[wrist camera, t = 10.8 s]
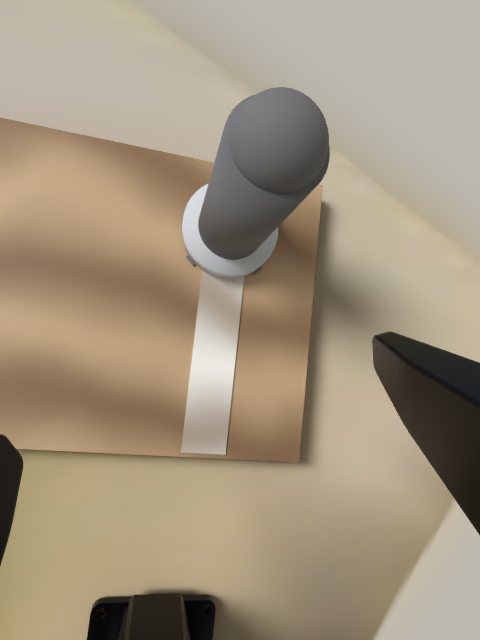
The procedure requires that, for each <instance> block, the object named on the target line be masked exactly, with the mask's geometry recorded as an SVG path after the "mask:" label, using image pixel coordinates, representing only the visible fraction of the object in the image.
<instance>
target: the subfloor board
mask: <svg viewBox="0 0 480 640" xmlns="http://www.w3.org/2000/svg"><path fill="white" fill-rule="evenodd" d="M213 166H214V163H213V162H209V161H204V160H199V159H194V158H190V157H185V156H180V155H175V154H170V153H166V152H161V151H156V150H151V149H147V148H142V147H137V146H132V145H128V144H123V143H118V142H113V141H109V140H104V139H99V138H94V137H89V136H85V135H80V134H75V133H70V132H66V131H61V130H56V129H51V128H47V127H42V126H37V125H32V124H28V123H23V122H18V121H13V120H8V119H4V118H0V434H3V435H5V436H6V437H7V438H8V439H9V440H10V442H11V443H12V444H13V446H14V447H15V448H16V449H31V450H51V451H72V452H92V453H113V454H134V455H154V456H175V457H195V458H216V459H236V460H257V461H277V462H298V463H299V458H300V446H301V434H302V422H303V411H304V399H305V387H306V375H307V364H308V352H309V340H310V328H311V317H312V305H313V293H314V281H315V270H316V258H317V246H318V234H319V223H320V211H321V199H322V187H323V185H317V186H316V188H315V189H314V190H313V191H312V192H311V193H310V194H309V195H308V196H307V197H306V198H305V199H304V200H303V201H302V202H301V203H300V204H299V205H298V206H297V207H296V209H295V210H294V211H293V212H292V213H291V214H290V215H289V216H288V217H287V218H286V219H285V220H284V221H283V222H282V223H281V224H280V225H279V226H278V239H277V243H276V246H275V248H274V250H273V252H272V254H271V256H270V257H269V258H268V259H267V260H266V261H265V262H264V263H263V264H262V265H261V266H260V267H259V268H258V269H256V270H255V271H254V272H252V273H250V274H248V275H246V276H243V277H240V278H233V279H225V278H219V277H216V276H213V275H211V274H208V273H206V272H205V271H203V270H202V269H200V268H199V267H198V266H197V265H196V264H195V263H194V262H193V261H192V259H191V258H190V257H189V255H188V253H187V252H186V249H185V247H184V244H183V240H182V222H183V216H184V212H185V208H186V206H187V204H188V202H189V200H190V198H191V197H192V196H193V195H194V193H195V192H196V191H198V190H199V189H200V188H201V187H203V186H204V185H206V184H208V183H209V180H210V177H211V173H212V170H213Z"/></svg>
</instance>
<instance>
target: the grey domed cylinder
mask: <svg viewBox="0 0 480 640" xmlns="http://www.w3.org/2000/svg"><path fill="white" fill-rule="evenodd" d="M329 155H330V153H329V135H328V128H327V125H326V121H325V118H324V116H323V114H322V112H321V110H320V109H319V107H318V106H317V105H316V104H315V102H314V101H312V100H311V99H310V98H309V97H308V96H306V95H305V94H303V93H301V92H299V91H297V90H294V89H291V88H285V87H284V88H283V87H281V88H280V87H279V88H271V89H267V90H265V91H262V92H260V93H258V94H256V95H253V96H250V97H248V98H246V99H245V100H243V101H241V102H240V103H239V104H238V105H237V106H236V107H235V108H234V109H233V110H232V112H231V113H230V115H229V117H228V119H227V121H226V124H225V127H224V131H223V134H222V138H221V141H220V145H219V149H218V152H217V156H216V159H215V163H214V166H213V170H212V173H211V177H210V180H209V183H208V184H206V185H204V186H203V187H201V188H200V189H199V190H198V191H196V192H195V193H194V195H193V196H192V197H191V198H190V200H189V202H188V204H187V206H186V208H185V212H184V216H183V222H182V240H183V244H184V247H185V249H186V252H187V253H188V255H189V257H190V258H191V259H192V261H193V262H194V263H195V264H196V265H197V266H198V267H199V268H200V269H202V270H203V271H205V272H206V273H208V274H211V275H213V276H216V277H219V278H225V279H233V278H240V277H243V276H246V275H248V274H250V273H252V272H254V271H255V270H256V269H258V268H259V267H260V266H261V265H262V264H263V263H264V262H265V261H266V260H267V259H268V258H269V257H270V256H271V254H272V252H273V250H274V248H275V246H276V243H277V239H278V226H279V225H280V224H281V223H282V222H283V221H284V220H285V219H286V218H287V217H288V216H289V215H290V214H291V213H292V212H293V211H294V210H295V209H296V207H297V206H298V205H299V204H300V203H301V202H302V201H303V200H304V199H305V198H306V197H307V196H308V195H309V194H310V193H311V192H312V191H313V190H314V189H315V188H316V186H317V185H318V184H319V183H320V182H321V180H322V179H323V177H324V175H325V173H326V170H327V168H328V163H329Z"/></svg>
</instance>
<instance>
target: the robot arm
mask: <svg viewBox="0 0 480 640" xmlns="http://www.w3.org/2000/svg"><path fill="white" fill-rule="evenodd" d="M372 343H373V362H374V368H375V371H376V373H377V375H378V377H379V379H380V381H381V383H382V384H383V386H384V388H385V390H386V392H387V394H388V396H389V398H390V399H391V401H392V403H393V405H394V407H395V409H396V411H397V413H398V415H399V416H400V418H401V420H402V422H403V424H404V425H405V427H406V428H407V430H408V432H409V433H410V435H411V436H412V438H413V439H414V440H415V442H416V443H417V445H418V446H419V448H420V449H421V451H422V452H423V454H424V455H425V456H426V458H427V459H428V461H429V462H430V464H431V465H432V467H433V468H434V469H435V471H436V472H437V474H438V475H439V477H440V478H441V480H442V481H443V483H444V484H445V485H446V487H447V488H448V490H449V491H450V493H451V494H452V496H453V497H454V499H455V500H456V501H457V503H458V504H459V506H460V507H461V509H462V510H463V512H464V513H465V514H466V516H467V517H468V519H469V520H470V522H471V523H472V524H473V526H474V528H475V529H476V530H477V532H478V533H479V535H480V363H479V362H476V361H473V360H470V359H468V358H465V357H462V356H459V355H456V354H453V353H451V352H448V351H445V350H442V349H439V348H436V347H434V346H431V345H428V344H425V343H422V342H419V341H416V340H414V339H411V338H408V337H405V336H402V335H399V334H397V333H394V332H385V333H382V334H378V335H375V336H374V337H373V341H372ZM22 470H23V459H22V456H21V455H20V453H19V452H18V451H17V450H16V448H15V447H14V446H13V444H12V443H11V442H10V440H9V439H8V438H7V437H6V436H5V435H3V434H0V565H1V562H2V559H3V555H4V552H5V549H6V545H7V542H8V538H9V535H10V531H11V526H12V522H13V517H14V512H15V507H16V502H17V496H18V491H19V486H20V481H21V475H22ZM204 605H210V607H209V608H208V609H206V610H204V609H202V608H203V606H204ZM99 608H104V609H105V610H106V611H105V612H104V613H99V612H98V611H97V610H98V609H99ZM214 619H215V602H214V599H213V598H212V597H211V596H209V595H192V596H181V595H180V594H151V595H134V596H133V597H115V598H100V599H98V600H97V601H96V602H95V603H94V604H93V607H92V610H91V614H90V622H89V629H88V636H87V640H212V638H213V629H214Z"/></svg>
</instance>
